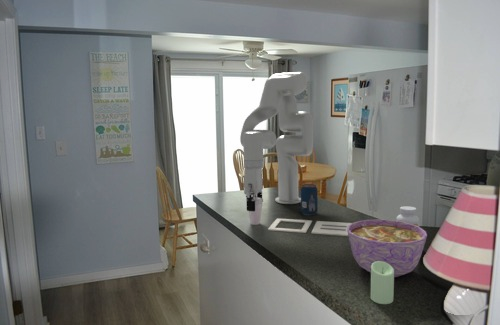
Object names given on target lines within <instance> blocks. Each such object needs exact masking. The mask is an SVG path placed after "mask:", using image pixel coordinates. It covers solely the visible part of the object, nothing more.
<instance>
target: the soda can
mask: <svg viewBox="0 0 500 325" xmlns="http://www.w3.org/2000/svg"><path fill="white" fill-rule="evenodd" d="M300 198H301V202H300V212H301V213H302V214H303V215H304V216H313V215H316V214H317V213H318V207H319V206H318V205H319V204H318V202H319V201H318V198H319V197H318V188H317V185H316V184H312V183H310V184H309V183H308V184H307V183H305V184H302V185H301V188H300Z"/></svg>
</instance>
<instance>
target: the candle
mask: <svg viewBox="0 0 500 325" xmlns="http://www.w3.org/2000/svg"><path fill="white" fill-rule="evenodd" d="M394 288H395V278H394V269H393V267H392V266H391V265H389V264H388V263H386V262H382V261H376V262H374V263H372V265H371V273H370V299H371V300H372V302H374V303H376V304H380V305H390V304H392V303H393V302H394V293H395V292H394V291H395V290H394Z"/></svg>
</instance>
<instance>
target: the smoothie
mask: <svg viewBox="0 0 500 325" xmlns="http://www.w3.org/2000/svg"><path fill="white" fill-rule="evenodd" d="M254 201H255V211H248V213H249V219H250V225H252V226H257V225H261V218H262V210H263V209H262V208H263V203H264V199H263V197H262V198H258V197H257V194H256V197H255V198H254Z"/></svg>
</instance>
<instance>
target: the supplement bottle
mask: <svg viewBox="0 0 500 325" xmlns="http://www.w3.org/2000/svg"><path fill="white" fill-rule="evenodd" d="M399 212H400V214H398V215H397V216H396V220H395V221H399V222H404V223H409V224H412V225H415V226H418V227H420V218H419V217H418V216H417V215H416V214H417V208H416V207H415V206H407V205H405V206H400V207H399Z"/></svg>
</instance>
